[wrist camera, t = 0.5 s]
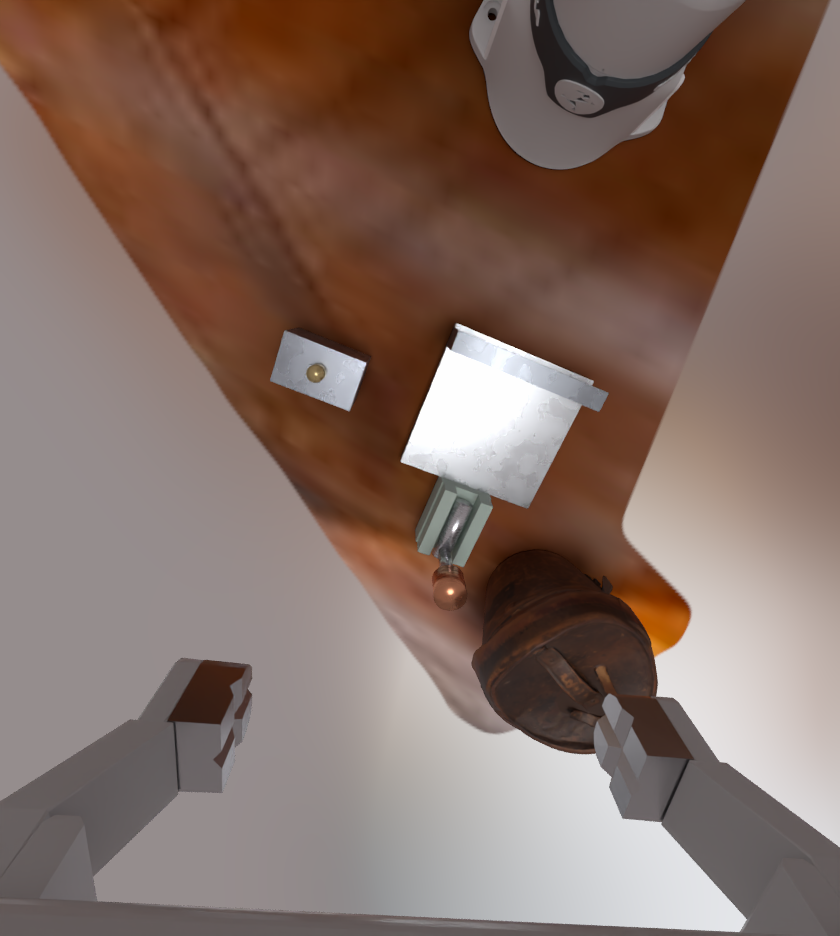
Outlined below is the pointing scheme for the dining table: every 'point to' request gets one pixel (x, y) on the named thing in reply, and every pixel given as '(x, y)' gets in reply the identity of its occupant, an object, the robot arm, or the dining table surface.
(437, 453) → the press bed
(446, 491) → the ram guide
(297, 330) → the block
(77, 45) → the dining table surface
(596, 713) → the case
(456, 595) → the ram
